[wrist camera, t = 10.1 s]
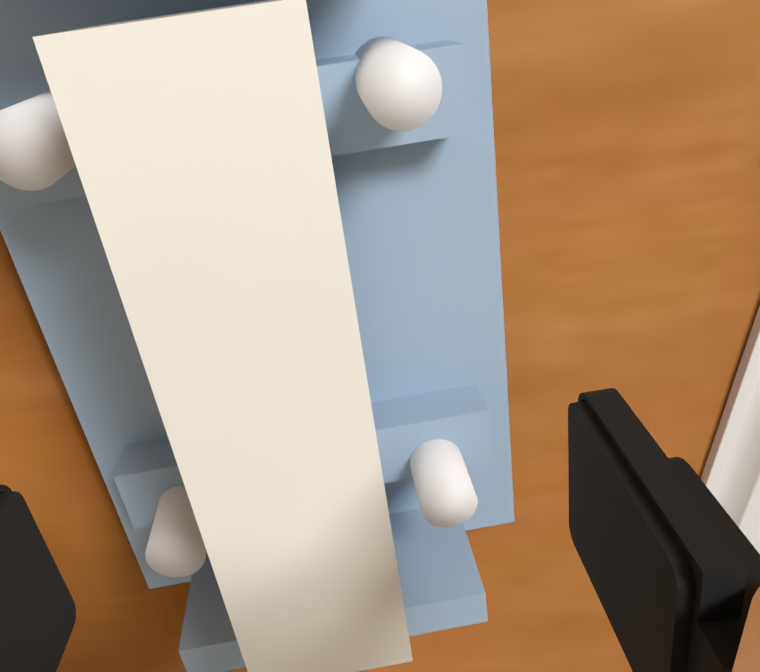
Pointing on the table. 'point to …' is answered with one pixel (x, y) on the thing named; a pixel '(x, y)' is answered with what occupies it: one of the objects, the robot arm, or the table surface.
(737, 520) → the grooved white panel
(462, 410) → the rack
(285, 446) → the clay bar
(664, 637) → the robot arm
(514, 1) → the table surface
